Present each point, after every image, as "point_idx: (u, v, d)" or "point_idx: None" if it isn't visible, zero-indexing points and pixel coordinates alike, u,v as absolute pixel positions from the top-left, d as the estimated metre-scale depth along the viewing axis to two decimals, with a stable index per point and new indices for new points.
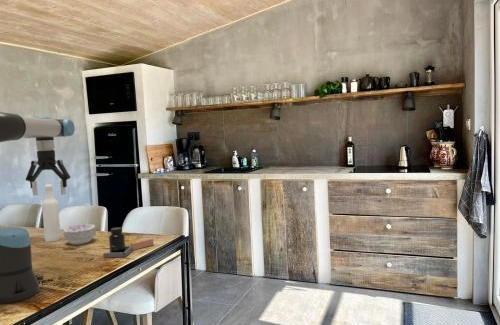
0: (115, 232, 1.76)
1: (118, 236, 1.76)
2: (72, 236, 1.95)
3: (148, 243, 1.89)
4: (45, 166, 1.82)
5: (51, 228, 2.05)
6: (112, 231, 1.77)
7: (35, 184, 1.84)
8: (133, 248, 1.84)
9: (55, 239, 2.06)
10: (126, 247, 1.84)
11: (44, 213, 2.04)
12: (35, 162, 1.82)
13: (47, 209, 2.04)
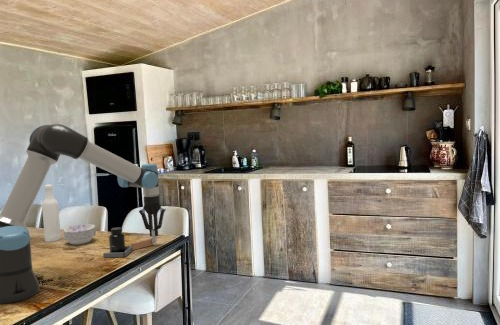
0: (115, 232, 1.76)
1: (118, 236, 1.76)
2: (72, 236, 1.95)
3: (148, 243, 1.89)
4: (151, 211, 1.89)
5: (51, 228, 2.05)
6: (112, 231, 1.77)
7: None
8: (133, 248, 1.84)
9: (55, 239, 2.06)
10: (126, 247, 1.84)
11: (44, 213, 2.04)
12: (142, 210, 1.89)
13: (46, 209, 2.04)
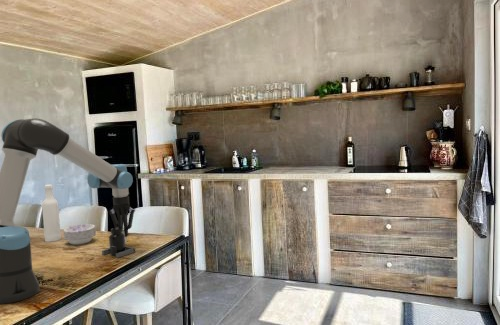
0: (115, 232, 1.76)
1: (118, 236, 1.76)
2: (72, 236, 1.95)
3: None
4: (120, 211, 1.89)
5: (51, 228, 2.05)
6: (112, 231, 1.77)
7: None
8: None
9: (55, 239, 2.06)
10: None
11: (44, 213, 2.04)
12: (112, 210, 1.90)
13: (47, 209, 2.04)
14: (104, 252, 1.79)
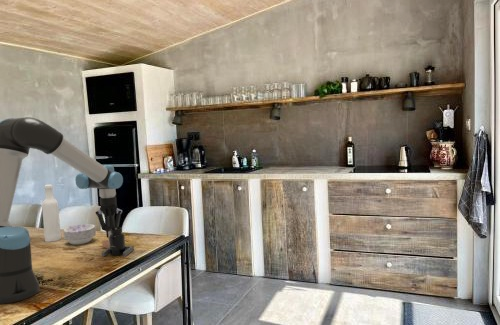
0: (115, 232, 1.76)
1: (118, 236, 1.76)
2: (72, 236, 1.95)
3: None
4: (107, 212, 1.89)
5: (51, 228, 2.05)
6: (112, 231, 1.77)
7: (111, 233, 1.91)
8: None
9: (55, 239, 2.06)
10: None
11: (44, 213, 2.04)
12: (99, 211, 1.90)
13: (46, 209, 2.04)
14: (104, 254, 1.76)
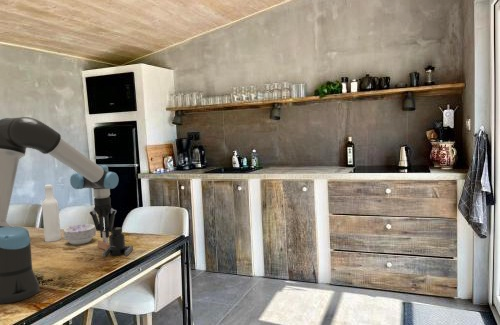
0: (115, 232, 1.76)
1: (118, 236, 1.76)
2: (72, 236, 1.95)
3: None
4: (102, 212, 1.89)
5: (51, 228, 2.05)
6: (112, 231, 1.77)
7: None
8: None
9: (55, 239, 2.06)
10: (109, 249, 1.82)
11: (44, 213, 2.04)
12: (93, 211, 1.90)
13: (46, 209, 2.04)
14: (105, 254, 1.75)
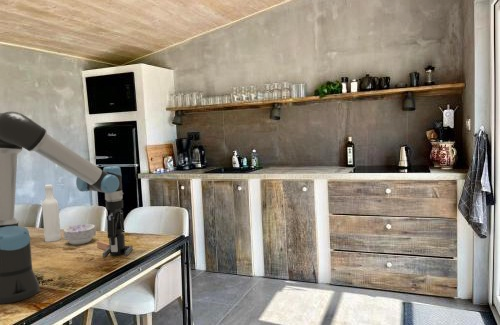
0: None
1: (118, 236, 1.76)
2: (72, 236, 1.95)
3: None
4: None
5: (51, 228, 2.05)
6: None
7: None
8: None
9: (55, 239, 2.06)
10: (109, 249, 1.82)
11: (44, 213, 2.04)
12: None
13: (47, 209, 2.04)
14: (105, 254, 1.75)
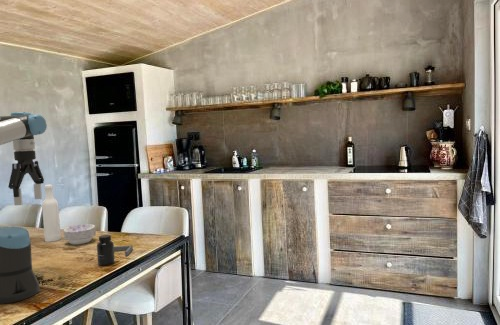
0: (103, 240, 1.63)
1: (106, 244, 1.63)
2: (72, 235, 1.95)
3: None
4: None
5: (51, 228, 2.05)
6: (99, 239, 1.64)
7: (37, 187, 1.65)
8: None
9: (55, 239, 2.06)
10: None
11: (44, 213, 2.04)
12: None
13: (46, 209, 2.04)
14: None
